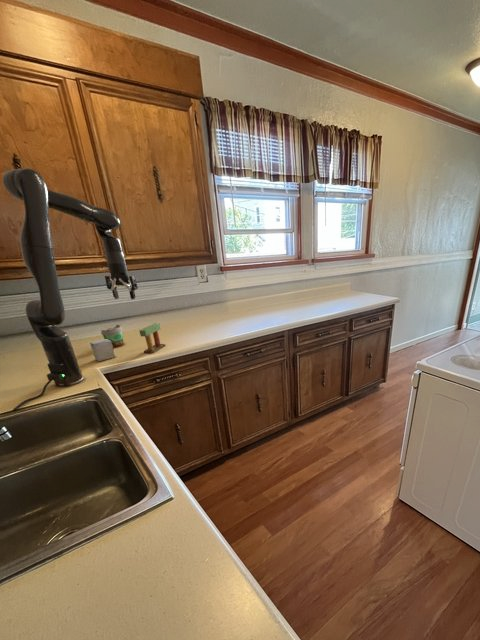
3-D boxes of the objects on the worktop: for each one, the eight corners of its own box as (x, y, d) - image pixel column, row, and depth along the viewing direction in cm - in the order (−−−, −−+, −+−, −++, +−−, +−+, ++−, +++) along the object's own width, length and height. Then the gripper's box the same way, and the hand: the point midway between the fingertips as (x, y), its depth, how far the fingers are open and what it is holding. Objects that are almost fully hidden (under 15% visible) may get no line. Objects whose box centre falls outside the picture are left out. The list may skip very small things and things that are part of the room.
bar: (160, 328, 173) (159, 323, 172) (146, 336, 161) (144, 330, 160) (155, 328, 174) (154, 323, 172) (140, 336, 162) (139, 330, 160)
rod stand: (165, 345, 177) (161, 329, 172) (153, 353, 166) (149, 336, 162) (156, 345, 177) (153, 329, 173) (144, 352, 167) (140, 335, 163)
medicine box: (111, 355, 164) (106, 338, 160) (115, 357, 161) (110, 340, 157) (95, 359, 159) (89, 342, 155) (99, 361, 156) (93, 344, 152)
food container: (116, 349, 172) (110, 331, 167) (105, 349, 173) (100, 330, 168) (131, 342, 182) (126, 324, 178) (121, 341, 183) (116, 324, 179)
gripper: (96, 262, 146) (106, 299, 153) (125, 262, 144) (133, 300, 151) (107, 261, 152) (116, 297, 160) (135, 261, 150) (143, 297, 158)
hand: (125, 298), depth 155 cm, fingers open, 8 cm apart
